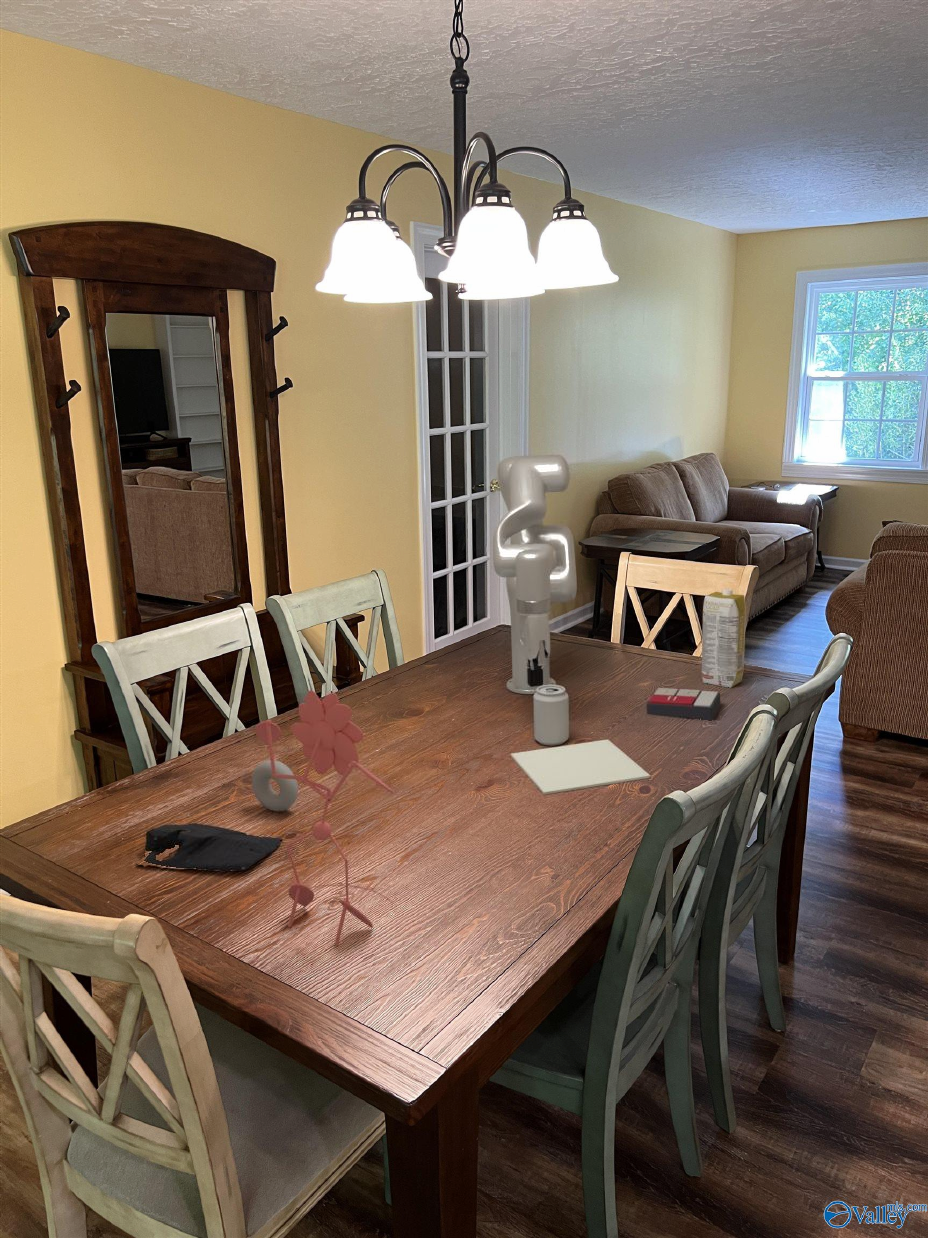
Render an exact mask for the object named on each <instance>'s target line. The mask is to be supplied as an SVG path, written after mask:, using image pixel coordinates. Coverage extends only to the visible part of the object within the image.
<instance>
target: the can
mask: <svg viewBox="0 0 928 1238" xmlns="http://www.w3.org/2000/svg"><path fill="white" fill-rule="evenodd" d="M536 691H537V692H536V693H535V694H533V695H532V696H533V697H532V698H533V727H534V729H533V730H534V731H533V732H534V733H533V735H534V740H536V741H537V742H538V743H539V744H541V745H543V746H554V747H555V746H559V745H562V744H564V743H565V742H566V741H567V740H568V739H570V738H569V737H570V723H569V722H570V721H569V720H570V719H569V718H570V715H569V713H570V711H569V709H570V708H569V706H570V705H569V700H570V699H569V694H568V693H567V692H566V688H565V687H564V686H562V685H558V684H556V685H543V686H540V687H538V688H537V689H536Z"/></svg>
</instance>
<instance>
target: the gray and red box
mask: <svg viewBox="0 0 928 1238" xmlns="http://www.w3.org/2000/svg"><path fill="white" fill-rule="evenodd" d="M719 707H720V708H721V693H720V692H718V691H713V690H711V691H710V690H702V691H701V690H700V689H687V688H686V689H684V688H683V689H682V688H680V689H678V688H665V687H658V688H657V689H656V691H654V693H653V694H652V696H651V697H650V698H649V700H648V701H647V702H646V714H647V715H651V716H659V717H661V716H662V717H668V718H678V717H679V718H680V719H681V718H682V719H692V720H694V719H699V720H698V721H703V720H708V721H707V722H713V721H714V719H715V718H714V717H716V716H717V714H716V713H718V712H719V710H720V708H719ZM718 709H719V710H718ZM717 711H718V712H717ZM715 715H716V716H715ZM713 718H714V719H713ZM700 719H701V720H700ZM712 720H713V721H712Z"/></svg>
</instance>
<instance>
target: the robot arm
mask: <svg viewBox="0 0 928 1238" xmlns="http://www.w3.org/2000/svg"><path fill="white" fill-rule="evenodd" d="M570 475H571V474H570V468H569V465H568V461H567V460H566V458H565V457H564V456H563V455H561V454H541V455H539V454H538V455H518V456H517V455H516V456H510V457H507V458H504V459H503V460H501V461H500V462H499V463H498V466H497V480H498V487H499V489H500V492H501V497H502V498H503V500H504V503H505V505H506V508H507V510H508V512H507V513H506V514H505V515H503V517H502V518H501V519H500V521H499V522H498V523H497V525H496V527H495V528H494V529H495V530H494V532H493V536H492V537H493V538H492V561H493V569H494V571H495V574H497V575H498V576H499V577H501V578H506V581H505V583H506V584H505V585H506V591H507V597H508V604H509V612H510V616H509V617H510V629H511V631H510V633H511V634H510V636H511V638H510V639H511V640H510V641H511V663H512V664H511V665H512V666H511V667H512V668H511V671H512V677H511V678H510V679H509V680H508V681H507V682H506V688H507V689H508V690H509V691H511V692H512V693H517V694H521V695H522V694H523V695H534V694H535V693H536V692H537V691H536V689H537V688H538V687H540V686H543V685H557V684H556V683H557V682H556V680H555V679H553V678H552V677H551V675H550V673H551V672H550V656H551V632H550V631H551V630H550V621H549V615H550V614H551V613H552V612H551V611H552V608H551V607H552V606H551V605H552V604H559V603H561V604H563V603H569V602H572V601H573V600H574V599H575V598H576V595H577V592H578V591H577V590H578V587H577V585H578V584H577V582H578V581H577V580H578V579H577V570H576V569H577V567H576V553H575V551H576V550H575V543H574V536H573V532H572V530H571V529H570V528H569V527H568V526H566V525H563V524H544V523H543V522H544V521H543V519H545V517H546V515H547V501H546V497H547V496H546V493H559V492H561V493H562V492H565V491H567V489H568V488H569V485H570V479H571V478H570ZM509 538H510V539H509ZM508 539H509V540H510V543H509V544H505V543H506V542H507V540H508Z"/></svg>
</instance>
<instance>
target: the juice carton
mask: <svg viewBox="0 0 928 1238" xmlns="http://www.w3.org/2000/svg"><path fill="white" fill-rule="evenodd" d="M733 592H734V591H733V589H729V588H728V589H727V588H723V589H722V590H721V591H714V592H712V593H709V594H707V595H705V597H704V600H703V607H702V608H703V609H702V633H701V634H702V636H701V637H702V640H701V641H702V642H701V644H702V645H701V646H702V647H701V675H702V676H701V677H702V683H704V684H707V683H708V684H707V685H713V686H717V687H719V686H720V687H724V688H728V687H729V688H733V687H735V686H736V685H738V684H739V683H741V682H742V679H743V676H744V675H743V674H744V669H745V668H744V664H745V645H746V644H745V639H746V638H745V637H746V617H747V615H746V614H747V613H746V612H747V611H746V610H747V609H746V608H747V607H746V599H745V595H744V594H737V593H736V594H733Z"/></svg>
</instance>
